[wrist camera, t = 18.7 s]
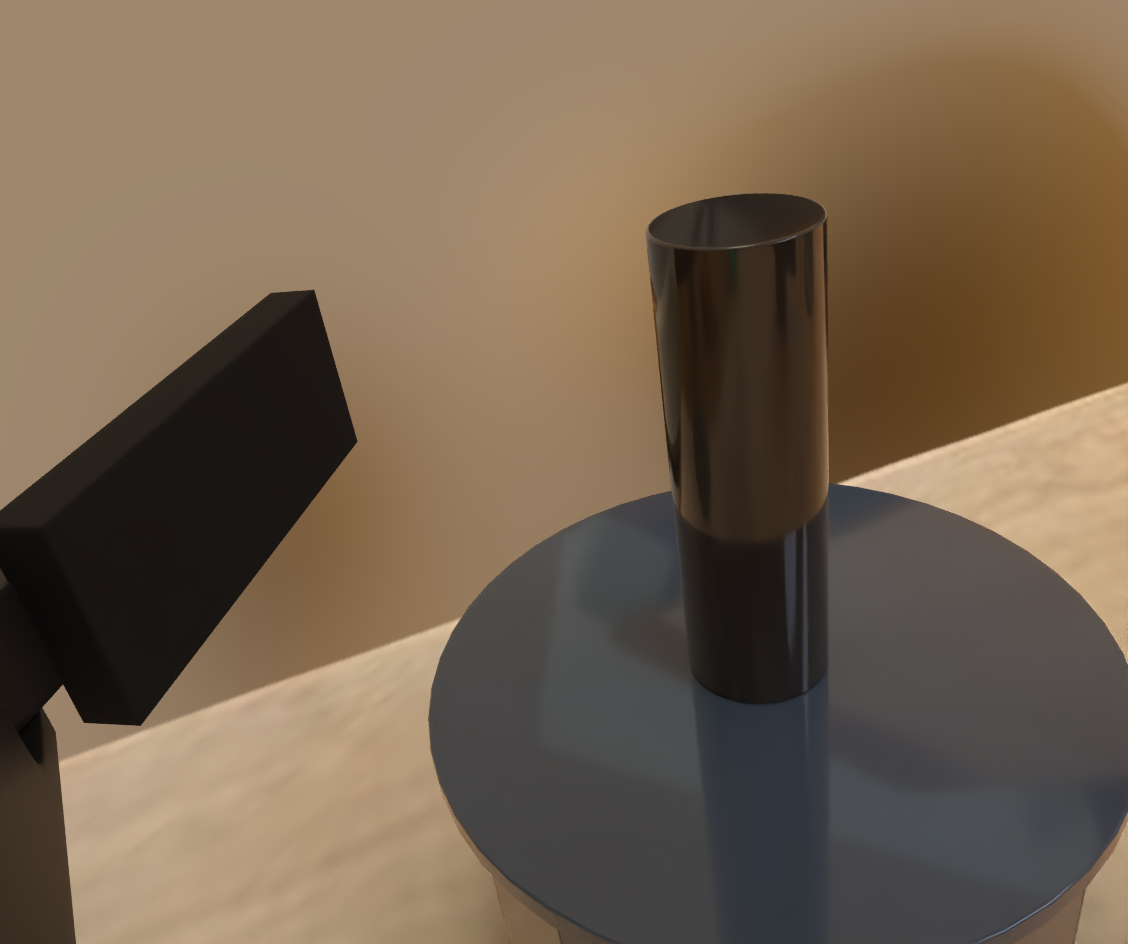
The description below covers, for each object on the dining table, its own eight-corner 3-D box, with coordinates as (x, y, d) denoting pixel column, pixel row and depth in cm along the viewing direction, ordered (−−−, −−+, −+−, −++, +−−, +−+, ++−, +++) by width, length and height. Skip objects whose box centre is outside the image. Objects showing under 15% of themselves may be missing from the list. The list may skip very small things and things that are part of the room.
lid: (886, 468, 27) (898, 87, 22) (1338, 862, 15) (1592, 237, 10) (408, 593, 25) (299, 208, 20) (504, 1152, 13) (301, 566, 8)
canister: (874, 693, 30) (881, 462, 26) (1194, 1101, 19) (1293, 820, 15) (487, 807, 28) (426, 580, 24) (602, 1325, 18) (528, 1080, 13)
